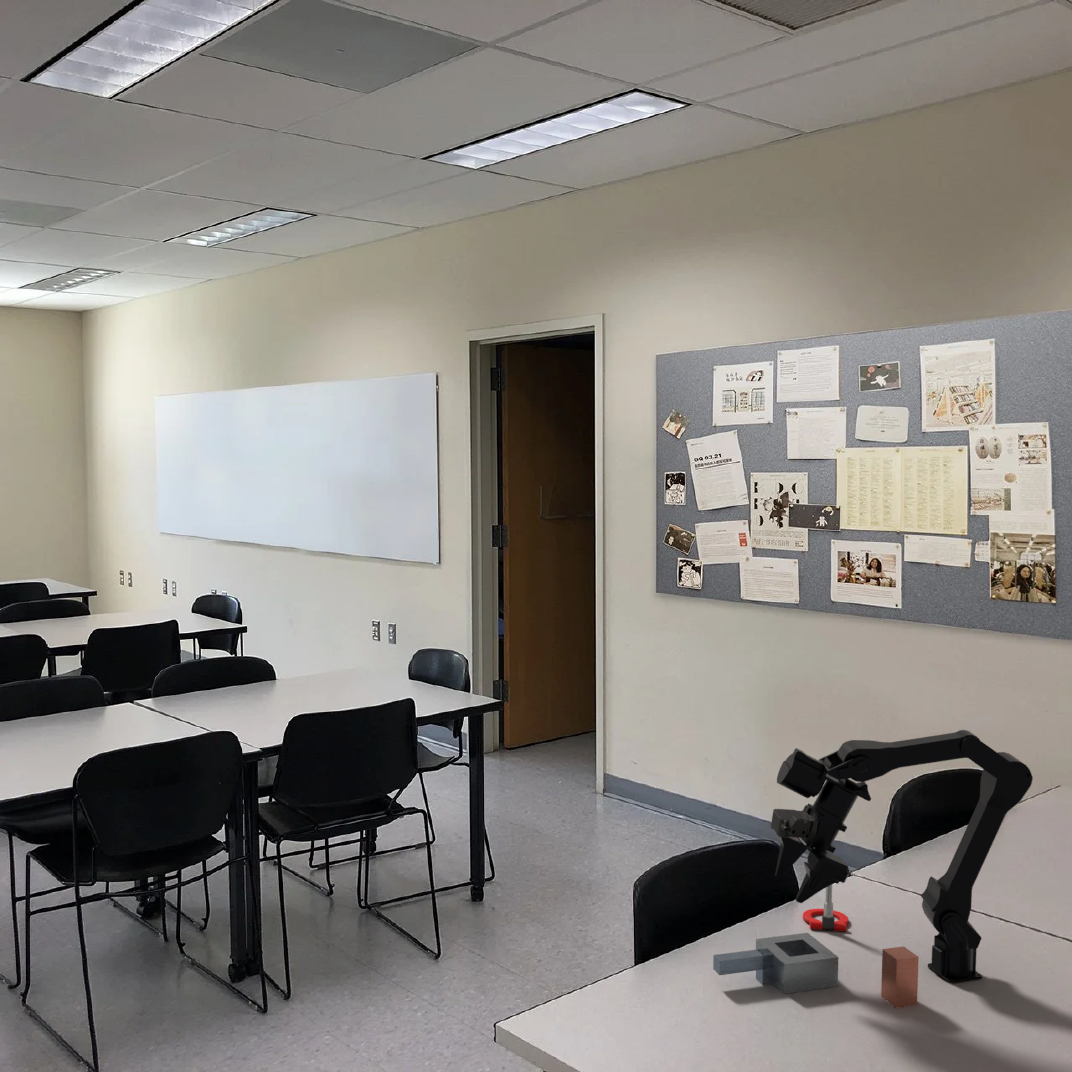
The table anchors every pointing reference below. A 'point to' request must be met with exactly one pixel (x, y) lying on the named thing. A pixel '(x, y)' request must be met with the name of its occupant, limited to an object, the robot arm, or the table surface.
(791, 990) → the square frame with handle
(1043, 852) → the table surface
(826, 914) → the tow hook
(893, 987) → the square peg
